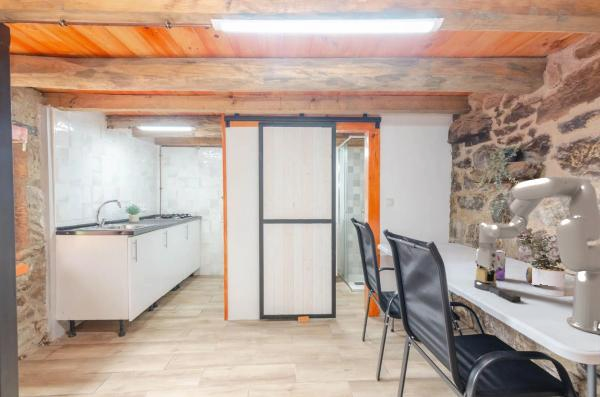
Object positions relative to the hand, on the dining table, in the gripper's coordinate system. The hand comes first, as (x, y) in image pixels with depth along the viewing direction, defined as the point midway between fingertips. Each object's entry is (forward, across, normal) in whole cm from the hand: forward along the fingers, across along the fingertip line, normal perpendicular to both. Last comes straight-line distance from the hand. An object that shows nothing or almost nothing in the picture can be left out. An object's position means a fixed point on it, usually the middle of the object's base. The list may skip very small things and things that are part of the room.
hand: (485, 279), depth 158 cm
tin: (+5, +5, -33) cm, 34 cm away
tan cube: (+1, 0, 0) cm, 1 cm away
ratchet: (+5, -7, 0) cm, 9 cm away
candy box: (+5, +17, -16) cm, 24 cm away
